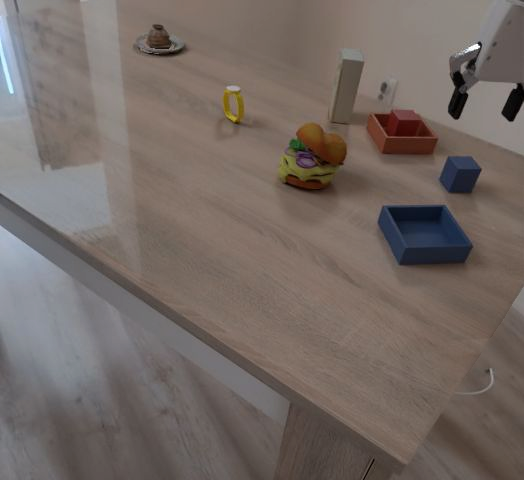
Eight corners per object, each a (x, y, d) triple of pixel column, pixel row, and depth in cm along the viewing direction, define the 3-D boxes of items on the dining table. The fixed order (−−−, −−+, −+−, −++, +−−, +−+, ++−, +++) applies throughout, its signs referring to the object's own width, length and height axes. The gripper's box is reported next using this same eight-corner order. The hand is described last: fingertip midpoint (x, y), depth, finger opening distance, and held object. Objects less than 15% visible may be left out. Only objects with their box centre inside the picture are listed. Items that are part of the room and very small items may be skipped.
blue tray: (438, 220, 79) (445, 204, 77) (465, 262, 72) (473, 246, 70) (377, 222, 77) (382, 205, 75) (398, 264, 70) (405, 247, 68)
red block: (405, 132, 98) (412, 109, 95) (413, 142, 95) (420, 120, 92) (385, 131, 97) (391, 109, 94) (392, 142, 95) (399, 119, 91)
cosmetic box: (328, 109, 103) (339, 46, 94) (348, 111, 104) (361, 49, 94) (329, 122, 99) (341, 57, 90) (350, 124, 100) (365, 60, 90)
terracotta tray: (414, 128, 101) (418, 113, 99) (432, 153, 94) (438, 138, 92) (366, 127, 99) (369, 112, 97) (381, 153, 93) (386, 137, 90)
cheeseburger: (265, 165, 85) (284, 108, 79) (315, 172, 90) (336, 119, 84) (287, 195, 79) (309, 136, 73) (339, 201, 84) (364, 146, 78)
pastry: (135, 38, 122) (132, 16, 118) (182, 39, 124) (181, 18, 120) (135, 55, 114) (133, 33, 111) (186, 56, 116) (185, 35, 113)
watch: (246, 124, 96) (248, 93, 91) (234, 127, 95) (236, 95, 90) (230, 112, 99) (231, 81, 94) (219, 114, 98) (219, 83, 93)
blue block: (461, 179, 89) (471, 156, 85) (471, 192, 86) (482, 169, 82) (438, 179, 88) (448, 155, 85) (448, 192, 85) (458, 169, 82)
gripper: (575, -13, 69) (516, 109, 82) (466, -23, 66) (422, 105, 79) (606, 2, 64) (538, 129, 77) (490, -8, 61) (439, 126, 74)
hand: (480, 117), depth 78 cm, fingers open, 9 cm apart
